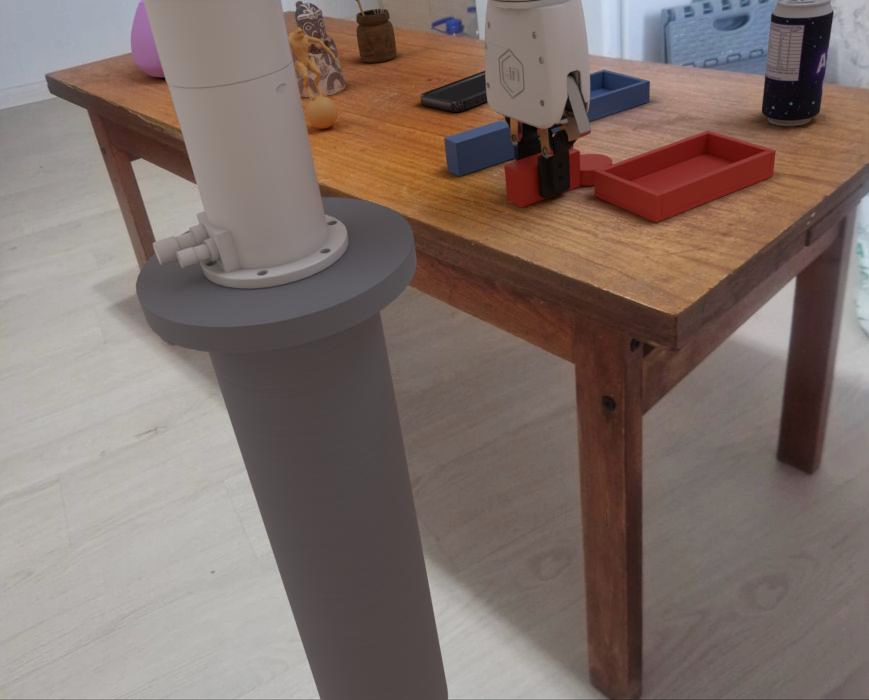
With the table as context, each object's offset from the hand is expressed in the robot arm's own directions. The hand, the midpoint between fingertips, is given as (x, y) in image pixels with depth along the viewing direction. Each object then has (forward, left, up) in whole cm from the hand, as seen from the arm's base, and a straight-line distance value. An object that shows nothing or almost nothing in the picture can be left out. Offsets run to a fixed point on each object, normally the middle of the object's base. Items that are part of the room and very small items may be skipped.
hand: (543, 186), depth 78 cm
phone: (+14, +33, -1) cm, 36 cm away
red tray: (+10, -8, -1) cm, 13 cm away
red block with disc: (+2, 0, -1) cm, 2 cm away
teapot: (-8, +88, -1) cm, 88 cm away
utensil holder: (+14, +63, -1) cm, 65 cm away
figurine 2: (-7, +38, -1) cm, 39 cm away
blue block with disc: (+2, +11, -1) cm, 11 cm away
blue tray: (+18, +17, -1) cm, 25 cm away
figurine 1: (0, +54, -1) cm, 54 cm away
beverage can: (+30, -3, -1) cm, 30 cm away
